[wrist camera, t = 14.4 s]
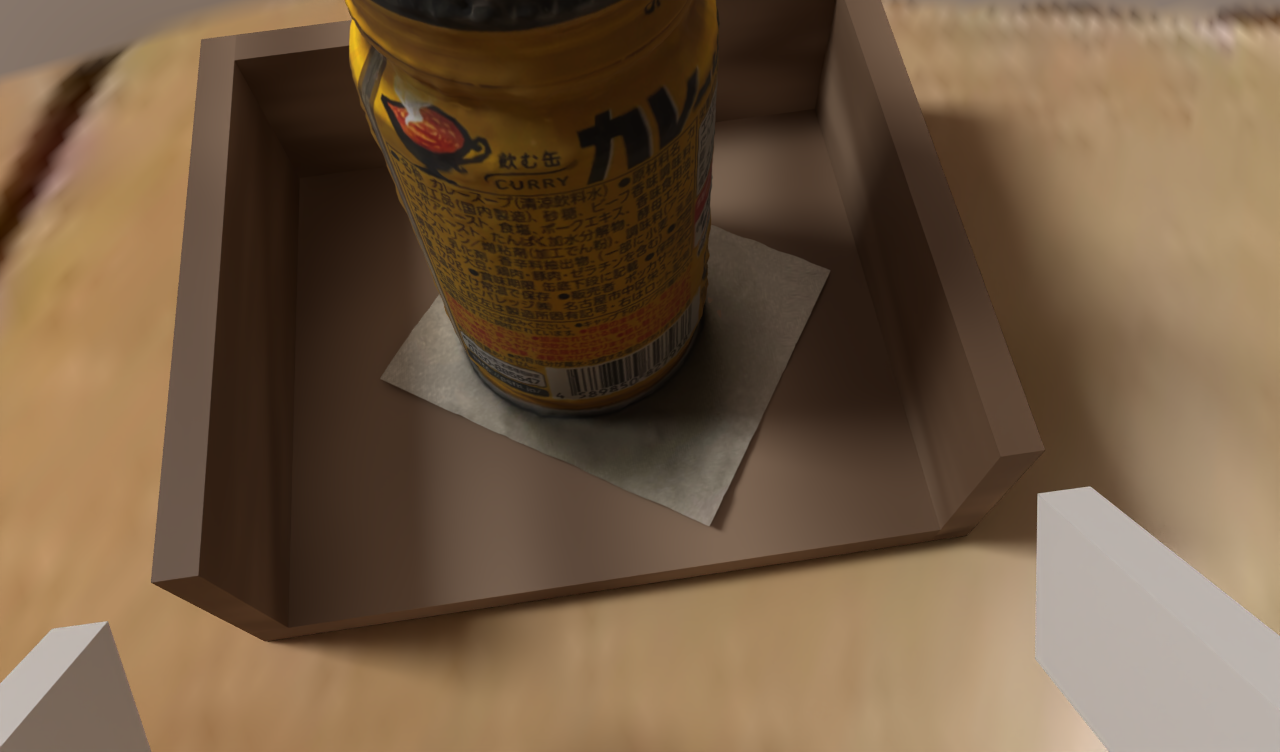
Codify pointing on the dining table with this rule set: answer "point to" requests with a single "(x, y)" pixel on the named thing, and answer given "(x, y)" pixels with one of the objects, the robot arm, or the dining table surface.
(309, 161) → the caddy
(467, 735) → the dining table surface
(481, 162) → the condiment
